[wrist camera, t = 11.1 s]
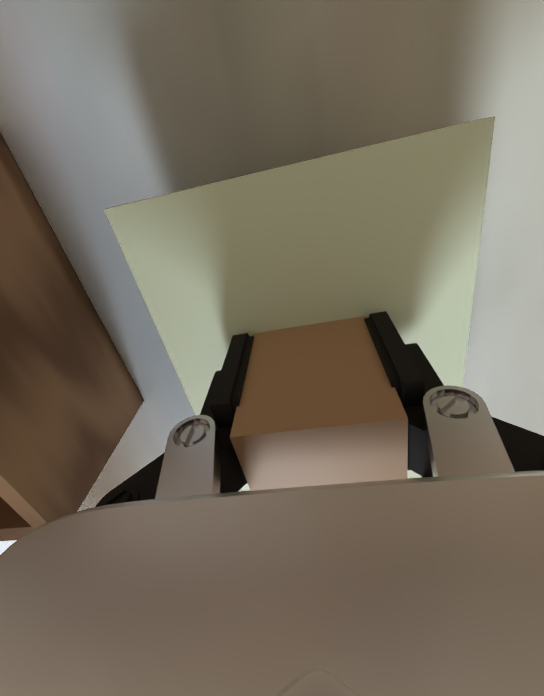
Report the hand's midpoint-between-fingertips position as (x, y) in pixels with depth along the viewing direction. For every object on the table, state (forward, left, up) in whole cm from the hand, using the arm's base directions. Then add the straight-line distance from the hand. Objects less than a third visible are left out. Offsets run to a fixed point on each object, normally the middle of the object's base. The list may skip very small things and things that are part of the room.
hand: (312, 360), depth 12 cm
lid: (-1, 0, -1) cm, 1 cm away
